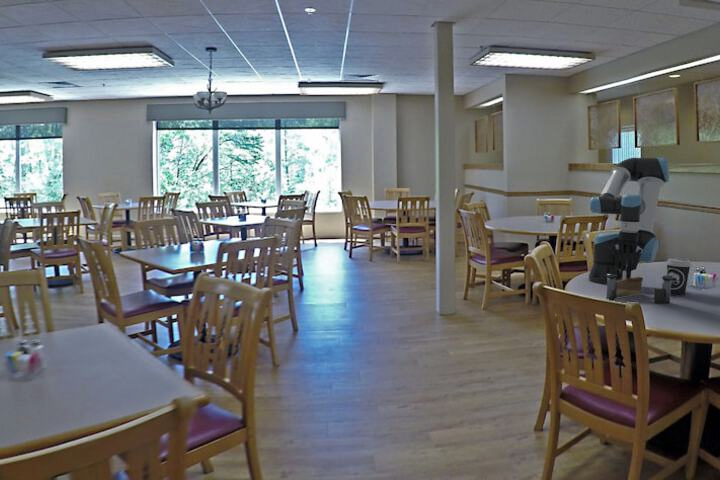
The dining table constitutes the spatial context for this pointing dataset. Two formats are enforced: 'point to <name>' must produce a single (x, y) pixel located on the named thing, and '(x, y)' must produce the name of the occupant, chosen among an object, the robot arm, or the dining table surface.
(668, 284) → the post
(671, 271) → the coffee cup
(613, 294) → the hinge post
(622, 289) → the brown wooden board
